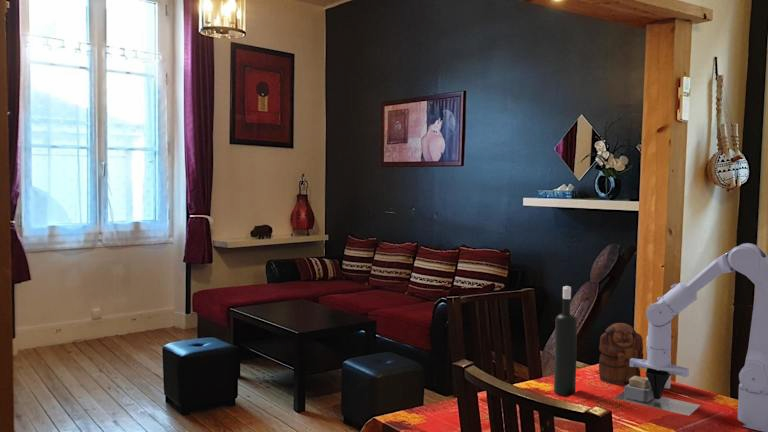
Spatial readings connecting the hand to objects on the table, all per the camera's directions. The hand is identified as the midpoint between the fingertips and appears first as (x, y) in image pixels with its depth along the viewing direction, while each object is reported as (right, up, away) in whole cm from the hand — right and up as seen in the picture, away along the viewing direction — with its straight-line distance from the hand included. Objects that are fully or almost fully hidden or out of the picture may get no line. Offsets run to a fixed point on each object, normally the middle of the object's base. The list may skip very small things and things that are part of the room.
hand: (657, 398), depth 168 cm
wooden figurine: (-3, -1, +17) cm, 17 cm away
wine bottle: (-22, -1, +9) cm, 24 cm away
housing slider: (-3, -1, +3) cm, 4 cm away
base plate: (0, -2, 0) cm, 2 cm away
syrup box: (+6, -1, +14) cm, 15 cm away
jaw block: (-4, -1, +3) cm, 5 cm away
